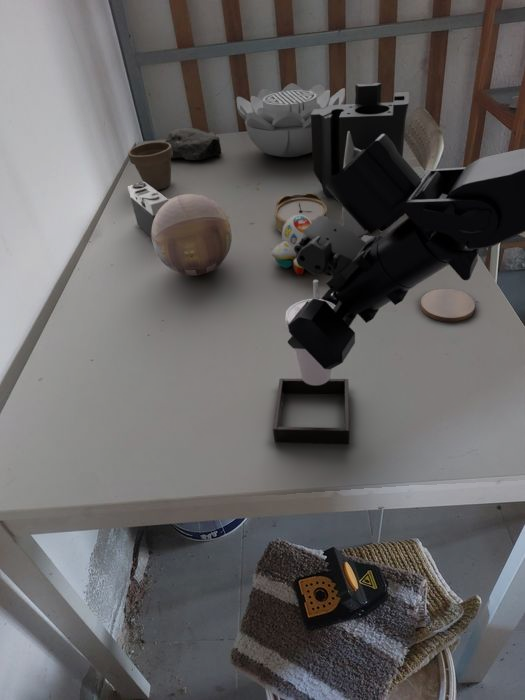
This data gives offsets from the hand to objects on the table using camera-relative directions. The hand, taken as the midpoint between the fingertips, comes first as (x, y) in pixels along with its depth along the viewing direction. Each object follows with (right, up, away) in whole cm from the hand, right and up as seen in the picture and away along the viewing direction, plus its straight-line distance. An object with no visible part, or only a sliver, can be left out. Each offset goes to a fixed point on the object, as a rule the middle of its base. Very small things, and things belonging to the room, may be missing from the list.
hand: (302, 328), depth 62 cm
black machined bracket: (+18, +36, +63) cm, 75 cm away
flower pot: (-33, +42, +78) cm, 94 cm away
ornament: (-17, +13, +40) cm, 46 cm away
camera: (-27, +24, +56) cm, 67 cm away
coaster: (+25, +5, +23) cm, 34 cm away
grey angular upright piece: (+17, +24, +48) cm, 57 cm away
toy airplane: (+4, +14, +39) cm, 41 cm away
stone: (-26, +55, +93) cm, 111 cm away
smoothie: (+2, -6, +4) cm, 7 cm away
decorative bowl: (+5, +55, +89) cm, 104 cm away
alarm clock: (+4, +26, +53) cm, 59 cm away
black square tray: (+2, -11, +7) cm, 13 cm away
